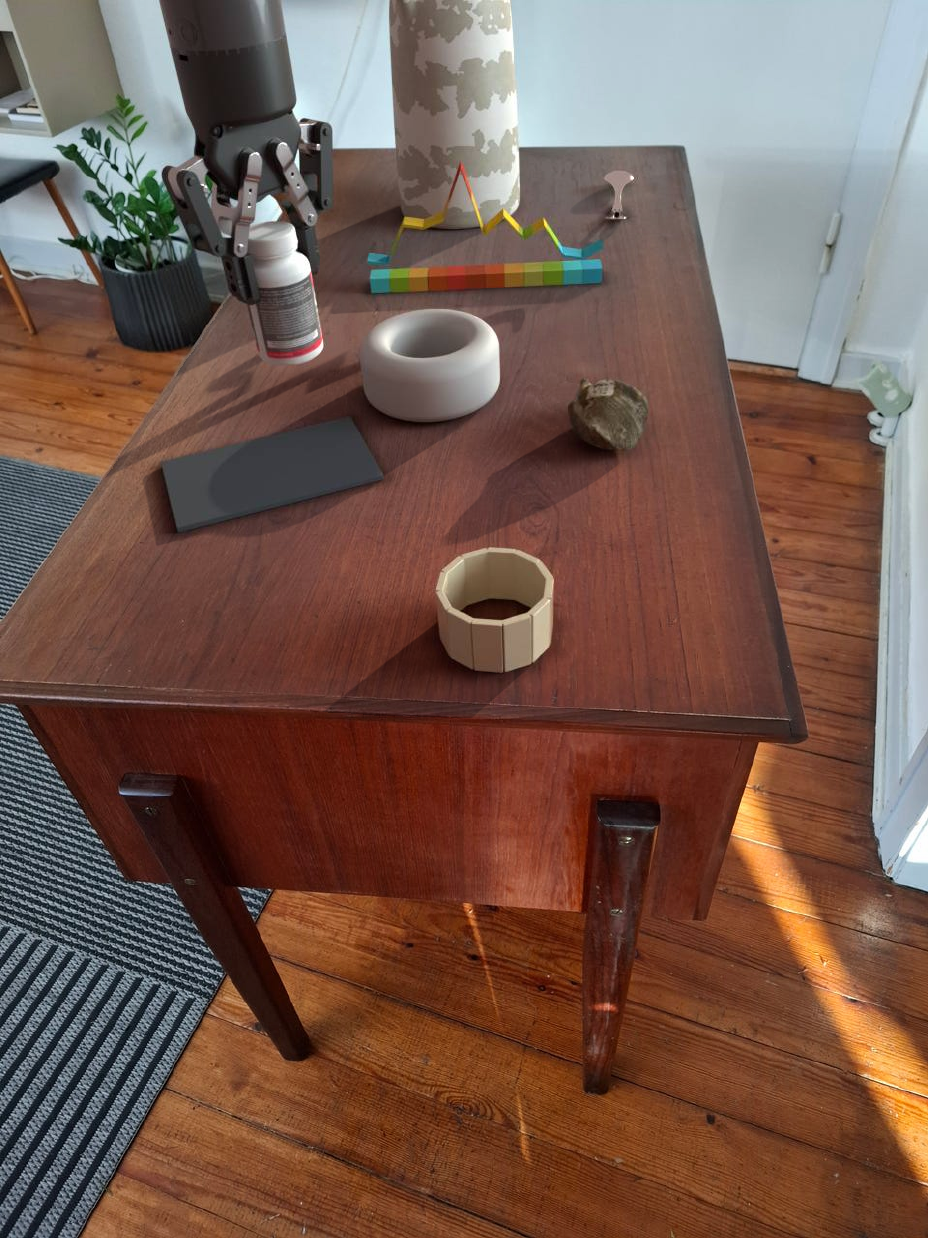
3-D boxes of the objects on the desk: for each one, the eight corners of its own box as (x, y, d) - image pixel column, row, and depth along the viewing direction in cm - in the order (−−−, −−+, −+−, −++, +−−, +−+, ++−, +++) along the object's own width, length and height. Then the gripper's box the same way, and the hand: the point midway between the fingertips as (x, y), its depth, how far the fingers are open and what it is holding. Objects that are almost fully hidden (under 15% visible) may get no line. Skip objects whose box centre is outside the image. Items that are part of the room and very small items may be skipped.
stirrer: (634, 202, 126) (601, 202, 127) (632, 228, 128) (599, 228, 129) (634, 165, 141) (604, 165, 142) (632, 189, 143) (603, 189, 144)
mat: (178, 533, 83) (176, 527, 82) (162, 466, 91) (160, 461, 90) (383, 479, 87) (383, 474, 87) (350, 420, 95) (350, 415, 95)
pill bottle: (338, 347, 73) (318, 225, 67) (290, 374, 70) (265, 249, 64) (292, 331, 76) (269, 211, 69) (244, 356, 73) (216, 234, 66)
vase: (454, 180, 149) (438, -115, 123) (544, 201, 140) (546, -113, 113) (369, 218, 138) (330, -96, 112) (459, 243, 129) (440, -93, 103)
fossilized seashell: (571, 382, 94) (547, 446, 88) (604, 339, 88) (582, 405, 83) (630, 418, 95) (611, 483, 90) (667, 378, 90) (648, 445, 84)
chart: (599, 272, 119) (605, 151, 109) (601, 282, 117) (608, 159, 107) (373, 283, 121) (358, 164, 110) (371, 293, 118) (356, 172, 108)
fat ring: (438, 345, 107) (434, 291, 102) (528, 388, 98) (528, 331, 94) (338, 393, 100) (328, 337, 95) (425, 443, 91) (419, 384, 87)
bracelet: (464, 685, 67) (460, 638, 63) (426, 612, 73) (420, 565, 70) (570, 651, 69) (572, 604, 65) (524, 582, 75) (524, 536, 72)
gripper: (272, 6, 63) (313, 246, 75) (99, 49, 56) (174, 309, 67) (346, 14, 60) (376, 266, 71) (171, 62, 52) (237, 335, 64)
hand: (278, 286), depth 69 cm, fingers closed on pill bottle, 5 cm apart
